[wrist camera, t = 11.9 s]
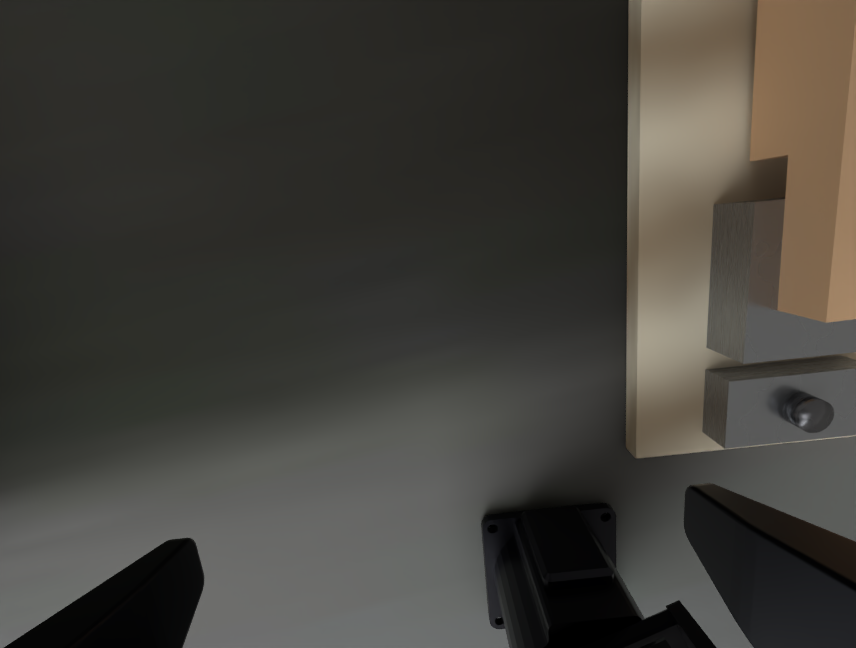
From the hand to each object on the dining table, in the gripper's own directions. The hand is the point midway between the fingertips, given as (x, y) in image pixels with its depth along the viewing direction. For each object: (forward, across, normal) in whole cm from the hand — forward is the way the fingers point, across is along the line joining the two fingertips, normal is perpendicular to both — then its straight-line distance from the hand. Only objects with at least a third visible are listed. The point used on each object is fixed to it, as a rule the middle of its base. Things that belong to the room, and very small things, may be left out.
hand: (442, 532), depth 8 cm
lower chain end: (+11, -15, 0) cm, 19 cm away
